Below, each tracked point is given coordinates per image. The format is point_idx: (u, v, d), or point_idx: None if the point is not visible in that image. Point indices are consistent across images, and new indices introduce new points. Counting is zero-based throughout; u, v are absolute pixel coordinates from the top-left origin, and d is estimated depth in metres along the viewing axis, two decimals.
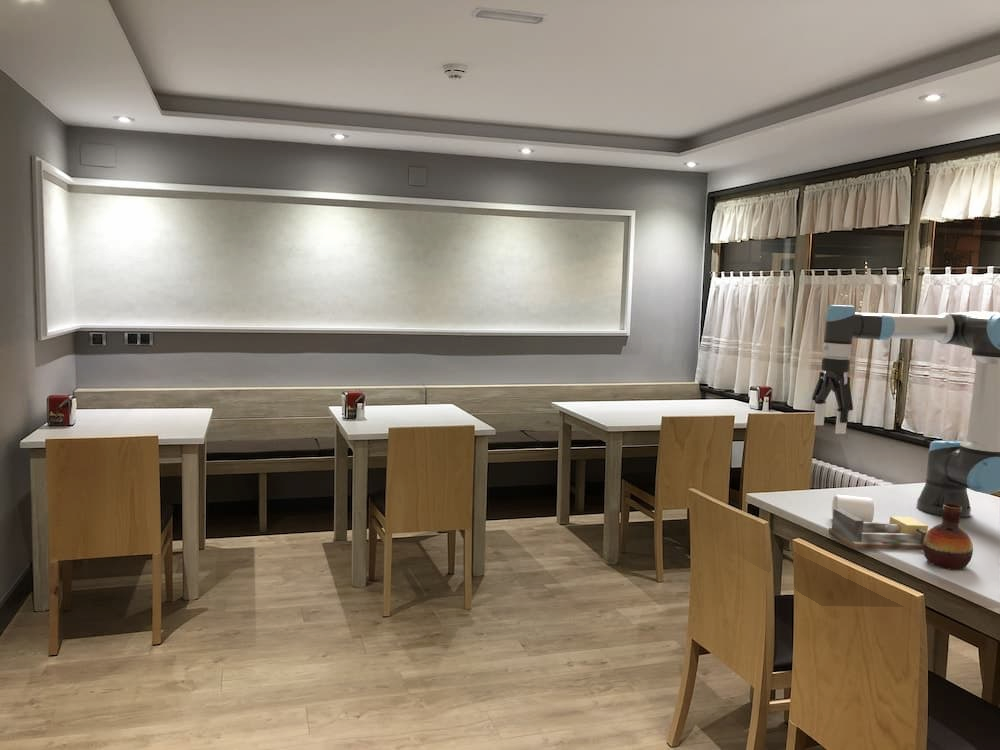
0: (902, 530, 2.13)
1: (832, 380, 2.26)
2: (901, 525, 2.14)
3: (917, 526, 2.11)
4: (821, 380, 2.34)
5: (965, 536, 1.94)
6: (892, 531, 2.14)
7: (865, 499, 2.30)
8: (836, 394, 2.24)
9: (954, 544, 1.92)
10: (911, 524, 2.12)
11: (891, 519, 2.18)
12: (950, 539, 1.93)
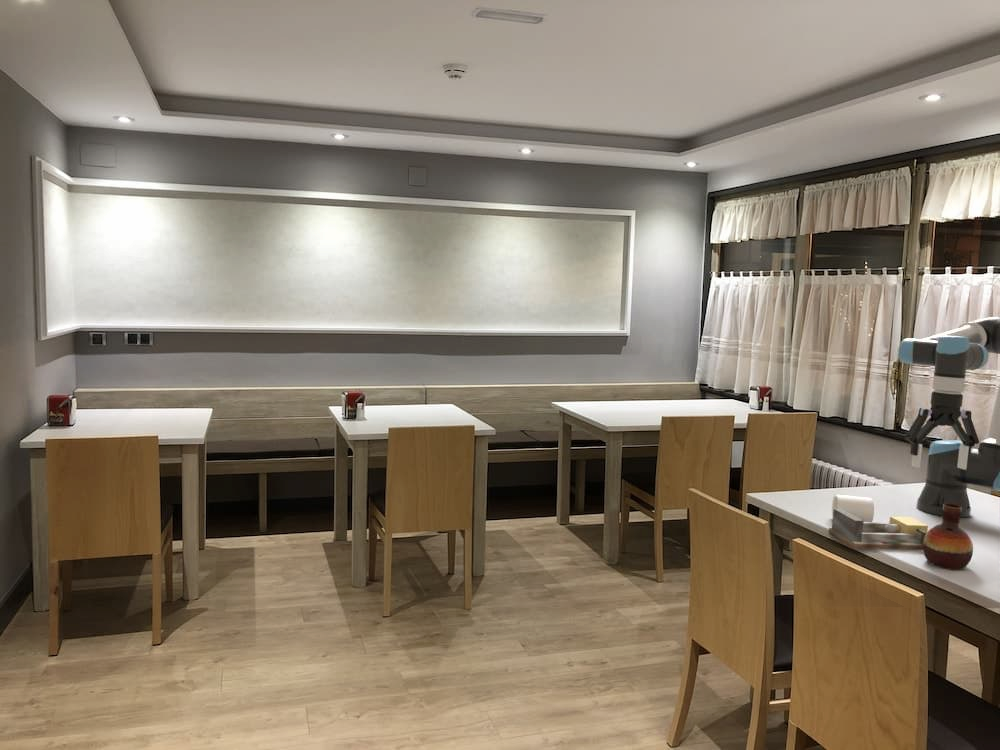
0: (902, 530, 2.13)
1: None
2: (901, 525, 2.14)
3: (917, 526, 2.11)
4: (962, 418, 2.15)
5: (965, 536, 1.94)
6: (892, 531, 2.14)
7: (865, 499, 2.30)
8: None
9: (954, 544, 1.92)
10: (911, 524, 2.12)
11: (891, 519, 2.18)
12: (950, 539, 1.93)
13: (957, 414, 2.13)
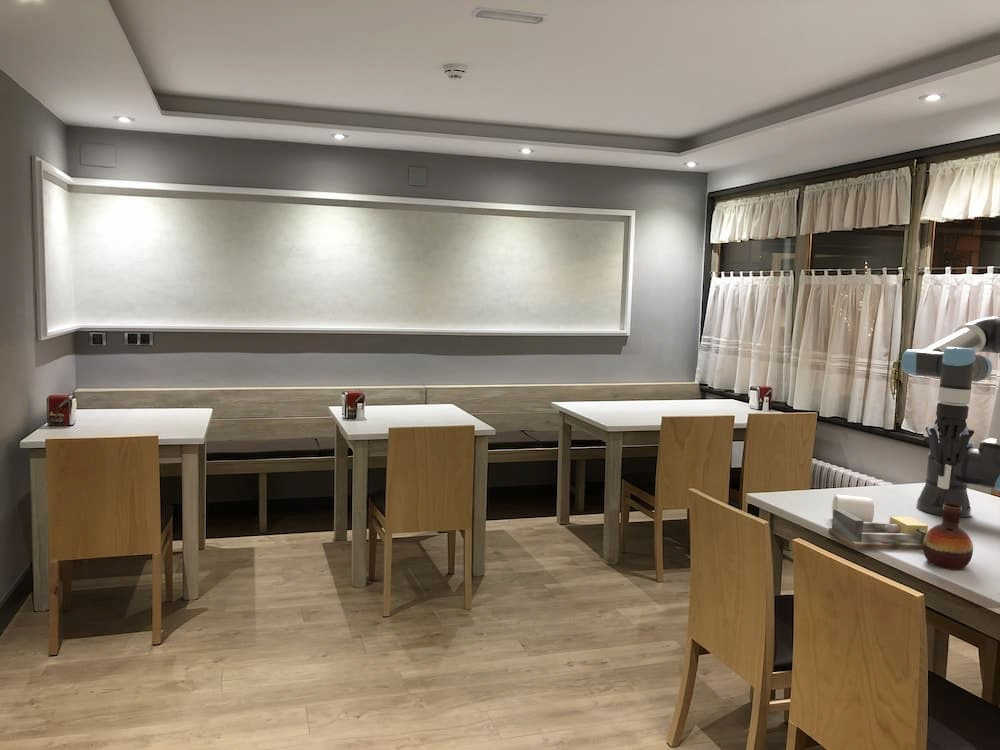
0: (902, 530, 2.13)
1: None
2: (901, 525, 2.14)
3: (917, 526, 2.11)
4: (961, 435, 2.15)
5: (965, 536, 1.94)
6: (892, 531, 2.14)
7: (865, 499, 2.30)
8: None
9: (954, 544, 1.92)
10: (911, 524, 2.12)
11: (891, 519, 2.18)
12: (950, 539, 1.93)
13: (962, 425, 2.12)
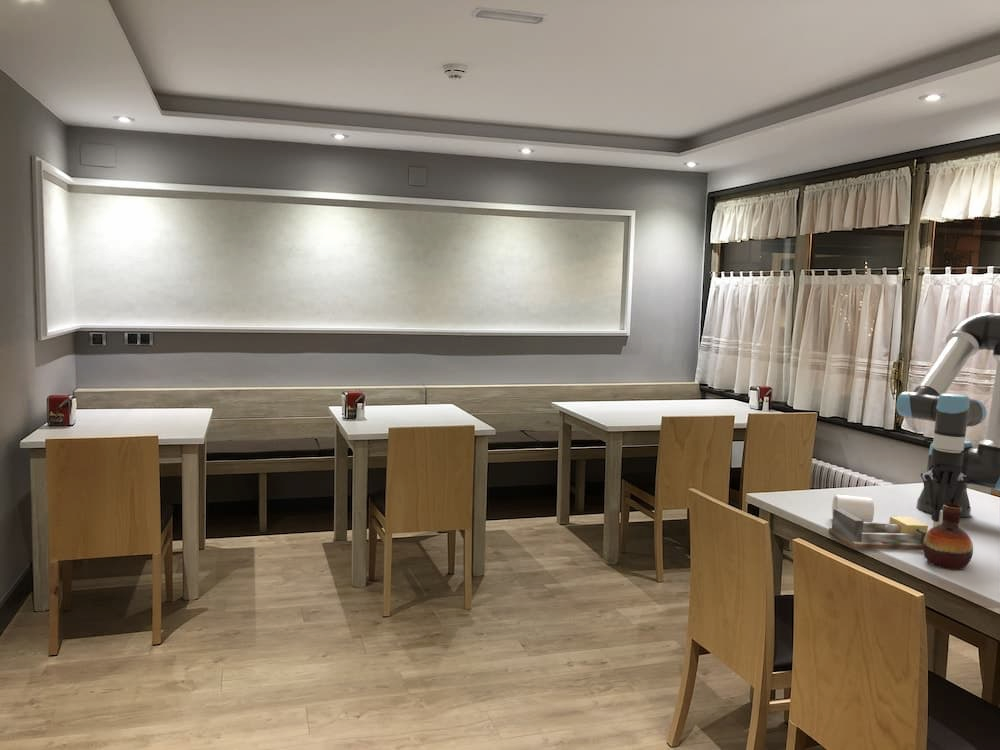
0: (902, 530, 2.13)
1: None
2: (901, 525, 2.14)
3: (917, 526, 2.11)
4: (956, 481, 2.16)
5: (965, 536, 1.94)
6: (892, 531, 2.14)
7: (865, 499, 2.30)
8: None
9: (953, 544, 1.92)
10: (911, 524, 2.12)
11: (891, 519, 2.18)
12: (950, 539, 1.93)
13: (957, 471, 2.14)
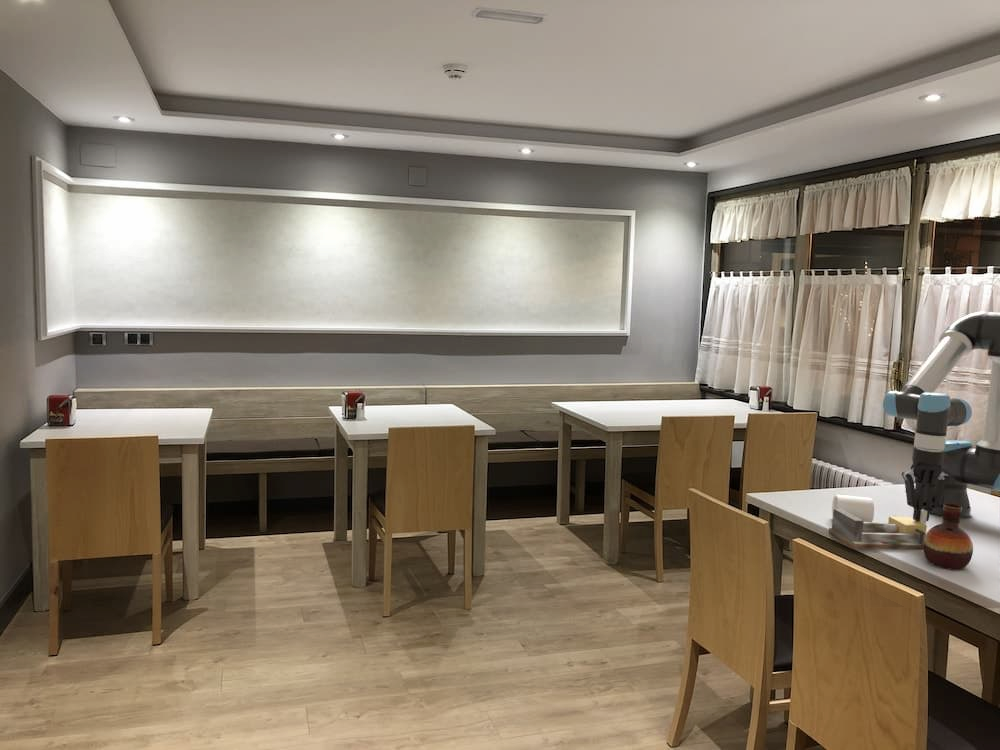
0: (901, 530, 2.13)
1: None
2: (899, 525, 2.14)
3: (916, 526, 2.11)
4: (937, 480, 2.16)
5: (965, 536, 1.94)
6: (891, 531, 2.14)
7: (865, 499, 2.30)
8: None
9: (954, 544, 1.92)
10: (910, 524, 2.12)
11: (890, 519, 2.18)
12: (950, 539, 1.93)
13: (938, 470, 2.13)
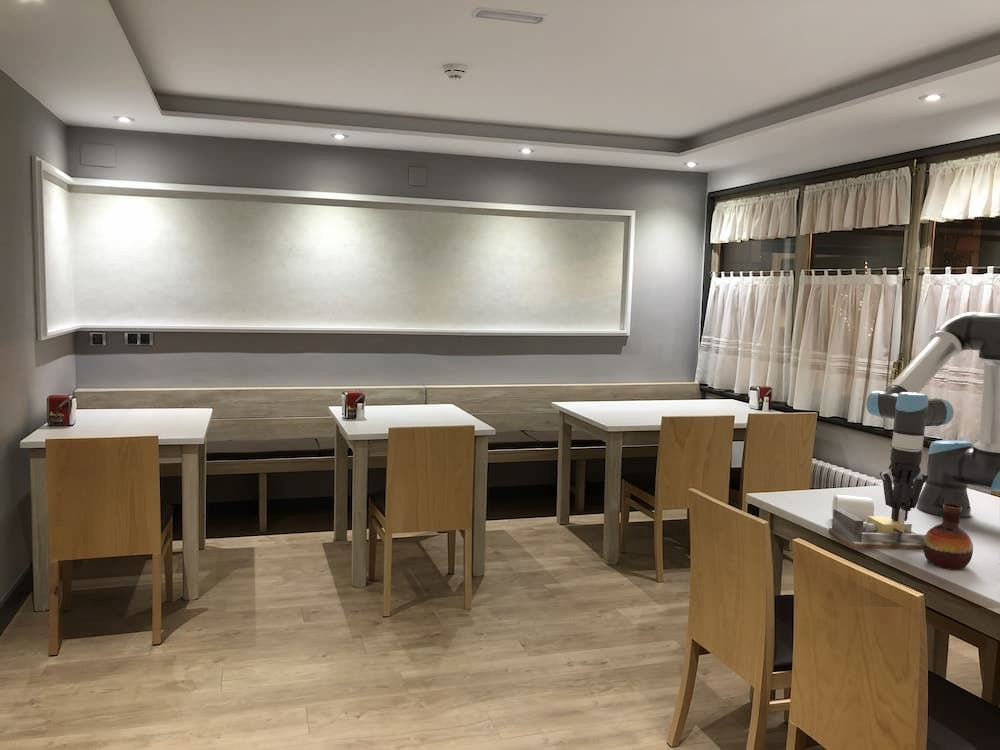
0: (879, 529, 2.13)
1: None
2: (878, 525, 2.13)
3: (894, 525, 2.11)
4: (915, 479, 2.15)
5: (965, 536, 1.94)
6: (869, 530, 2.14)
7: (865, 499, 2.30)
8: None
9: (954, 544, 1.92)
10: (888, 523, 2.12)
11: (868, 518, 2.18)
12: (950, 539, 1.93)
13: (916, 470, 2.13)
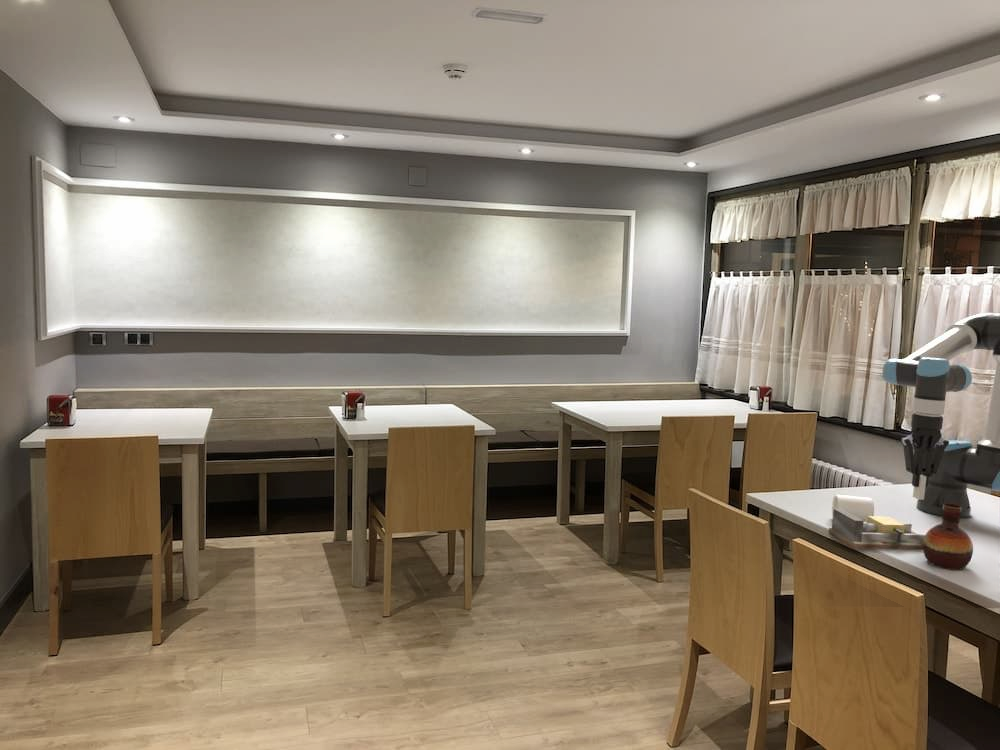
0: (879, 529, 2.13)
1: None
2: (878, 525, 2.13)
3: (894, 525, 2.11)
4: (936, 445, 2.14)
5: (965, 536, 1.94)
6: (869, 530, 2.14)
7: (865, 499, 2.30)
8: None
9: (953, 544, 1.92)
10: (888, 523, 2.12)
11: (868, 518, 2.18)
12: (950, 539, 1.93)
13: (937, 436, 2.12)
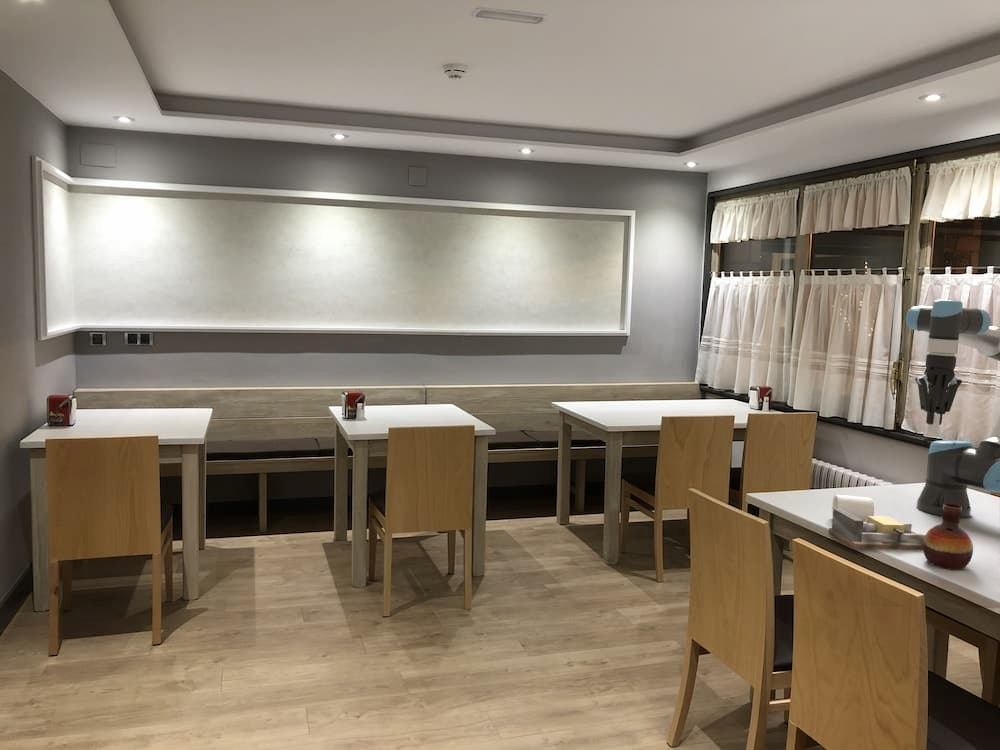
0: (879, 529, 2.13)
1: None
2: (878, 525, 2.13)
3: (894, 525, 2.11)
4: (949, 385, 2.23)
5: (965, 536, 1.94)
6: (869, 530, 2.14)
7: (865, 499, 2.30)
8: None
9: (954, 544, 1.92)
10: (888, 523, 2.12)
11: (868, 518, 2.18)
12: (950, 539, 1.93)
13: (951, 375, 2.21)
